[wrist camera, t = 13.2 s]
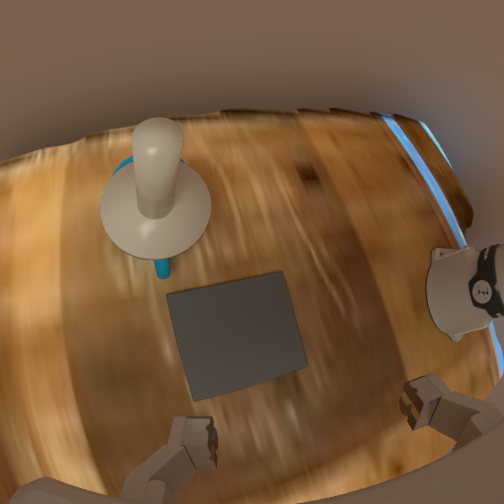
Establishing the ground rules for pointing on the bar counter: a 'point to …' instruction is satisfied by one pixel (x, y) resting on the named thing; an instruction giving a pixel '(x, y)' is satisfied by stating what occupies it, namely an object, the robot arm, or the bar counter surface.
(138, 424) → the bar counter surface
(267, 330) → the mat
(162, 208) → the white post stand
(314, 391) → the bar counter surface
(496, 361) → the bar counter surface
